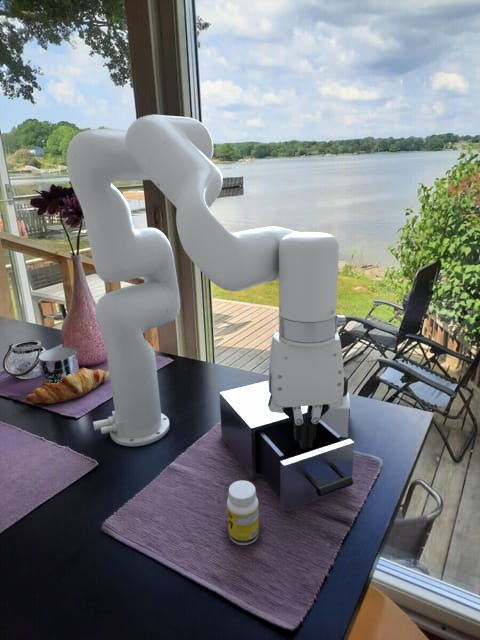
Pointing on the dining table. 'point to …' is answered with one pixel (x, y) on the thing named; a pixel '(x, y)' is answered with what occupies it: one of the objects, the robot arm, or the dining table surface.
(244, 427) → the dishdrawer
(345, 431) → the medicine bottle
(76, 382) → the croissant
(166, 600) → the dining table surface
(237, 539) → the supplement bottle
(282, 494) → the drawer
